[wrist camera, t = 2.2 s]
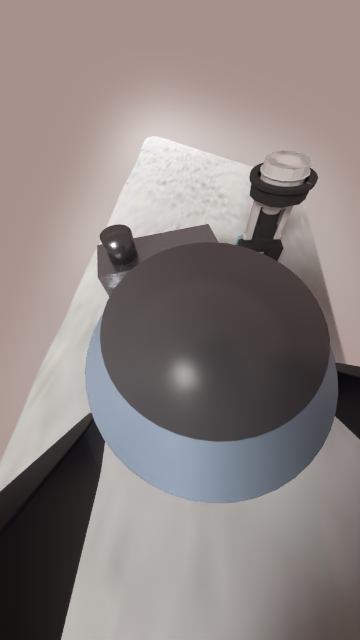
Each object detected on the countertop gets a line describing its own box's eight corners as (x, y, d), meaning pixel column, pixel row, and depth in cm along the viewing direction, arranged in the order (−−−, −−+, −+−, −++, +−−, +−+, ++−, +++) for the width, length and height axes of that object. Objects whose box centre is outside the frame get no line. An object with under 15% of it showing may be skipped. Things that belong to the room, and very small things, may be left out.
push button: (222, 274, 23) (241, 177, 14) (219, 245, 25) (233, 149, 17) (280, 274, 22) (335, 173, 14) (271, 244, 25) (312, 145, 16)
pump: (239, 438, 14) (521, 457, 2) (170, 458, 14) (10, 625, 2) (216, 370, 17) (278, 203, 5) (158, 385, 16) (62, 245, 4)
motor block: (232, 335, 19) (255, 276, 12) (125, 361, 18) (83, 314, 11) (204, 270, 23) (210, 201, 16) (119, 289, 22) (87, 224, 16)
